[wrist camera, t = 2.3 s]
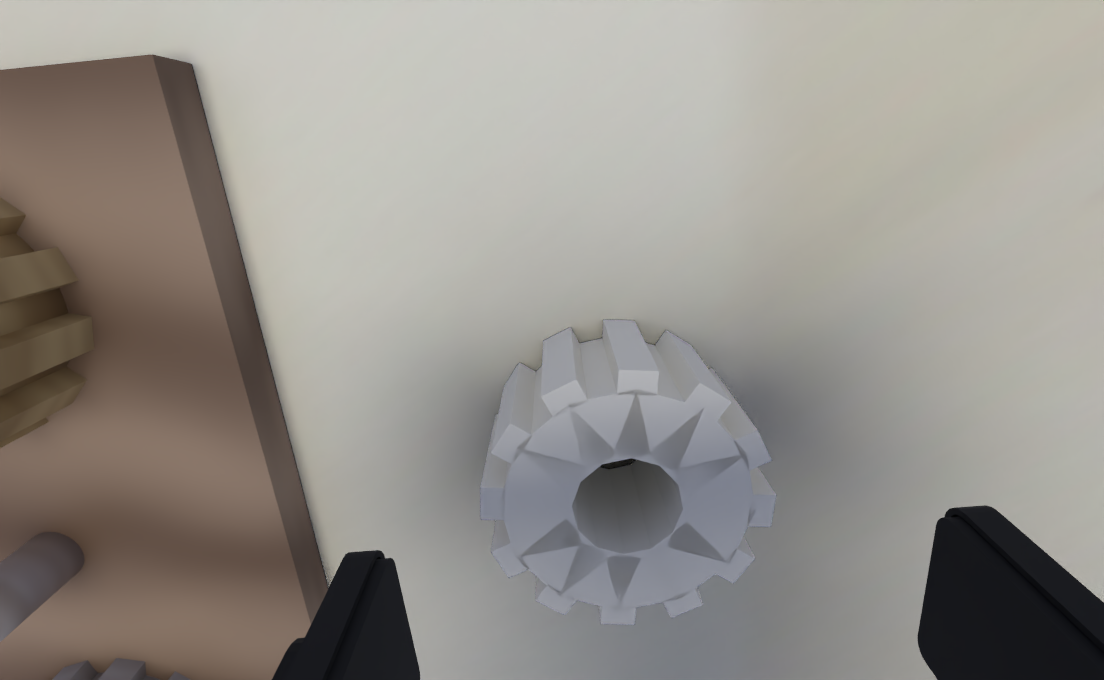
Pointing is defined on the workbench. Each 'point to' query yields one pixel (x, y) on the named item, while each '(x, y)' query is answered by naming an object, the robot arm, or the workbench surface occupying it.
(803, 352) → the workbench surface
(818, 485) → the workbench surface
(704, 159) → the workbench surface
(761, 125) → the workbench surface
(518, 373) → the gear
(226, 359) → the gear board
